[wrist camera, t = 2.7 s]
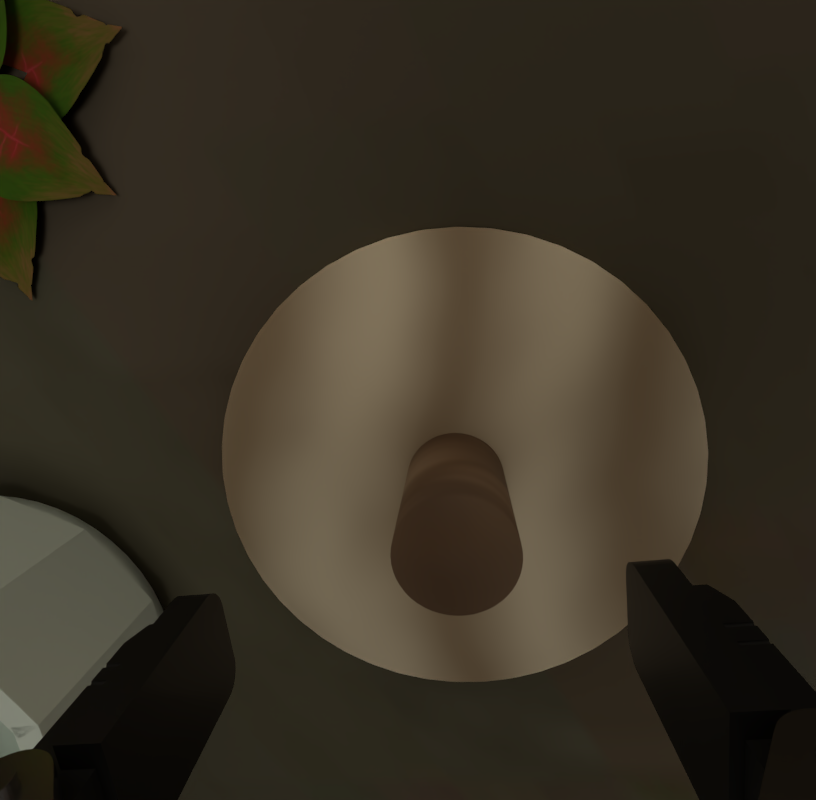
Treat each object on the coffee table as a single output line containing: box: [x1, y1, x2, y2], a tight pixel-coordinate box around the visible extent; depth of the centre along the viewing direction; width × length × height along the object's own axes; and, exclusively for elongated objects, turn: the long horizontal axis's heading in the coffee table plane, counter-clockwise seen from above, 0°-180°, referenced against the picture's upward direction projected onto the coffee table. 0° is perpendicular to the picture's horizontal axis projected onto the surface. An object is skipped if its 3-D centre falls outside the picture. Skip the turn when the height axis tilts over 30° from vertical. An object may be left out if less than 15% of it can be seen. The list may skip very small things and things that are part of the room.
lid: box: [222, 227, 708, 682], centre depth 16 cm, size 16×16×6 cm
